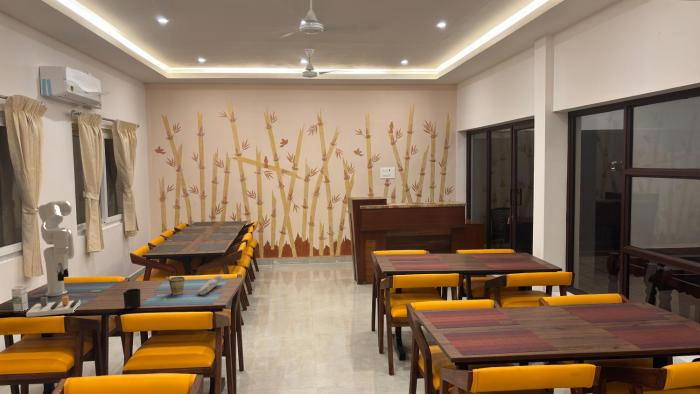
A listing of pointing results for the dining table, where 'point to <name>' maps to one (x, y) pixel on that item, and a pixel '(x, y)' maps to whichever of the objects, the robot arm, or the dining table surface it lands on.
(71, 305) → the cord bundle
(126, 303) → the pen holder
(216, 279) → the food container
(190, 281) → the dining table surface
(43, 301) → the on breaker
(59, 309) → the breaker panel
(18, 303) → the syrup box
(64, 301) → the breaker
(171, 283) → the ceramic cup
